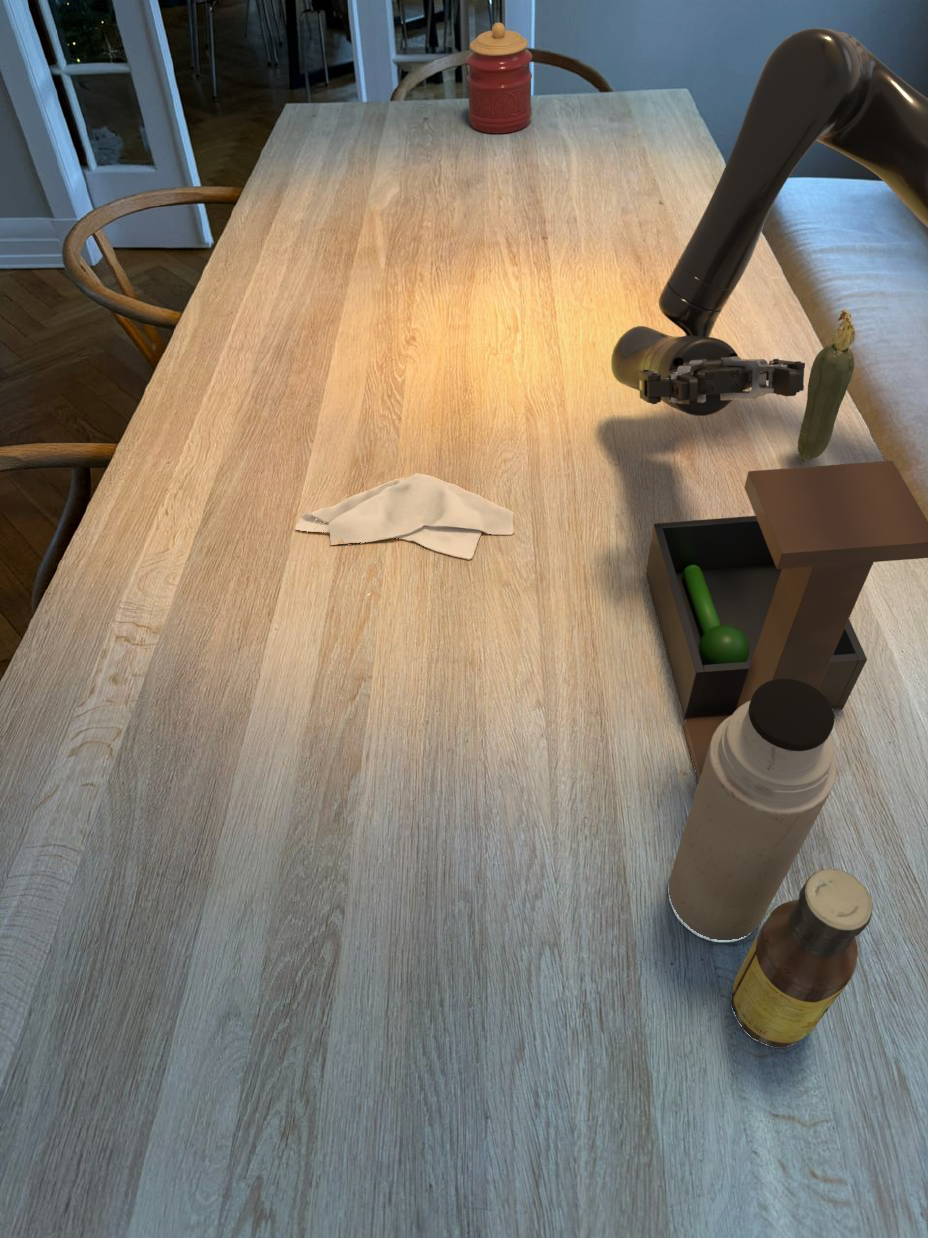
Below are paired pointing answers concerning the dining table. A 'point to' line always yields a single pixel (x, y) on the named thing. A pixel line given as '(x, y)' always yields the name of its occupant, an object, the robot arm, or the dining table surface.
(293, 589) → the dining table surface
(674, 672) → the open box
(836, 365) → the vegetable
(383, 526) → the cloth
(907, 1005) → the dining table surface
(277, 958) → the dining table surface
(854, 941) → the sauce bottle
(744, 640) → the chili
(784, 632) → the shelf stand
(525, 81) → the kitchen canister
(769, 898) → the thermos bottle
